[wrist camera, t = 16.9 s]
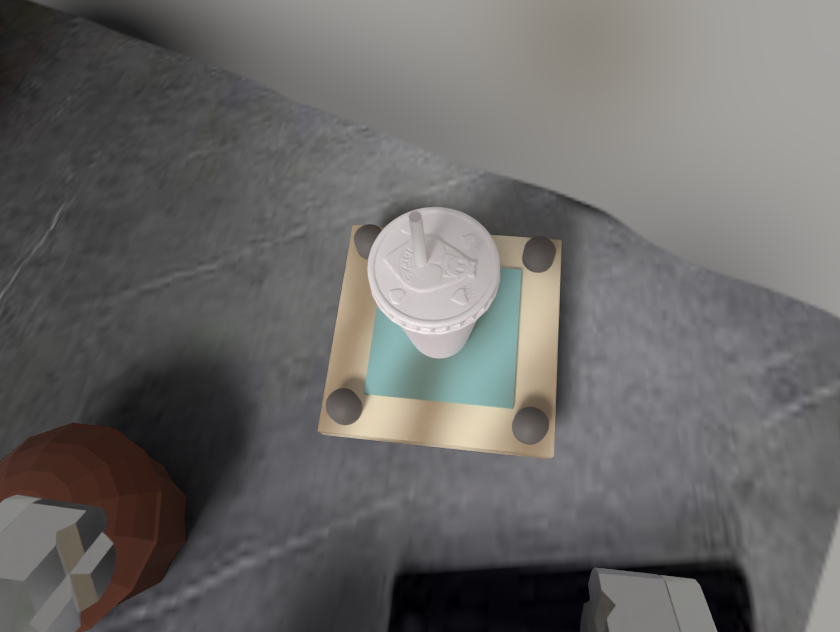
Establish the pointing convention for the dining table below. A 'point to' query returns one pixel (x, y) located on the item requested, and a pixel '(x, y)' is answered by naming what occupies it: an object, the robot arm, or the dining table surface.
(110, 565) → the robot arm
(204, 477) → the dining table surface
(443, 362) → the peg shelf
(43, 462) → the muffin
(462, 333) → the smoothie
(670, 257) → the dining table surface
